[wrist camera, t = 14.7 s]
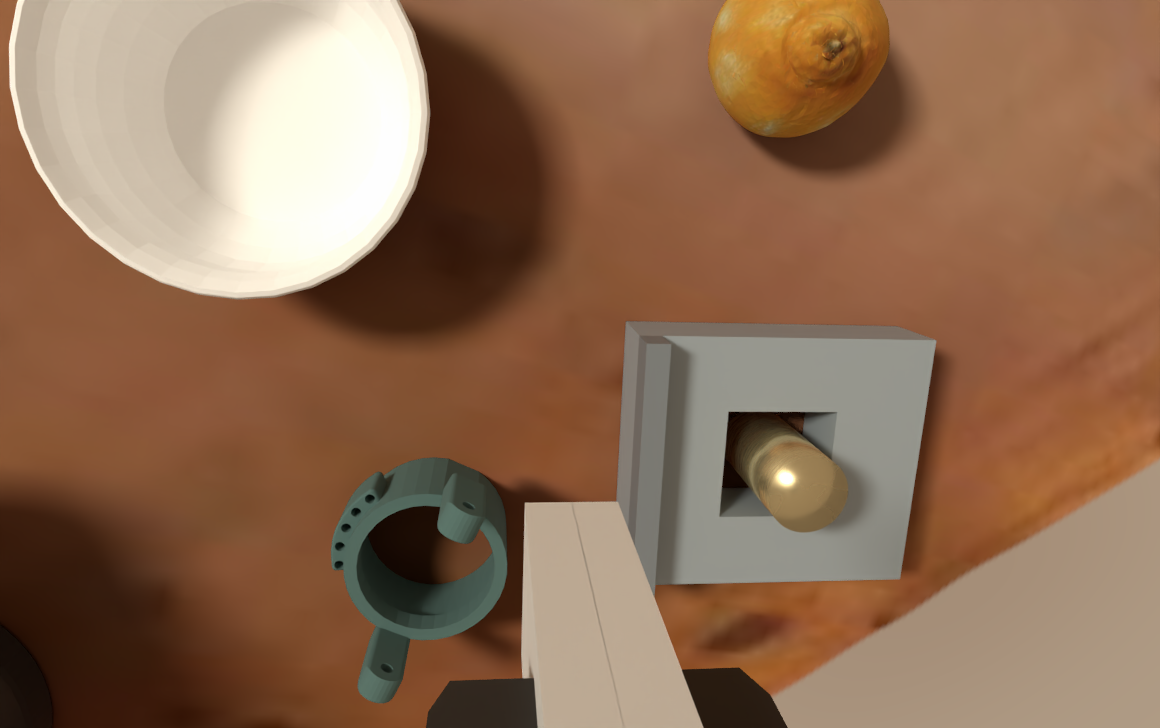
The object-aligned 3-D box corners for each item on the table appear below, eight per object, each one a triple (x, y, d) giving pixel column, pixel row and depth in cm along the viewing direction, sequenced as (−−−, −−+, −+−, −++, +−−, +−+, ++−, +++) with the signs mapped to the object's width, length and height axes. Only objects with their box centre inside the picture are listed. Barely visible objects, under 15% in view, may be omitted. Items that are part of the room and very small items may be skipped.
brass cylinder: (719, 472, 44) (766, 533, 36) (723, 408, 43) (772, 457, 36) (783, 471, 45) (844, 531, 37) (789, 407, 44) (852, 455, 36)
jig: (613, 550, 45) (631, 605, 39) (626, 321, 41) (646, 343, 36) (866, 546, 46) (919, 598, 41) (897, 326, 43) (959, 348, 37)
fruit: (773, 196, 38) (887, 111, 31) (653, 92, 37) (742, -22, 30) (833, 100, 42) (948, 3, 34) (725, 1, 40) (820, -121, 33)
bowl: (505, 85, 38) (507, 60, 30) (332, 336, 40) (293, 372, 32) (220, -138, 34) (140, -230, 27) (47, 150, 36) (-74, 142, 29)
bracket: (484, 434, 42) (479, 499, 33) (523, 575, 44) (527, 670, 36) (328, 473, 42) (282, 548, 33) (375, 613, 44) (344, 718, 35)
